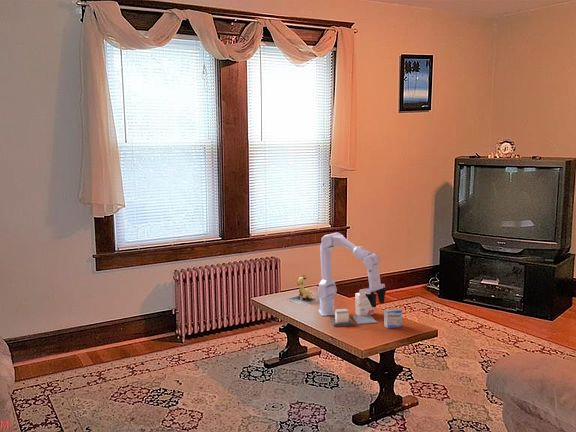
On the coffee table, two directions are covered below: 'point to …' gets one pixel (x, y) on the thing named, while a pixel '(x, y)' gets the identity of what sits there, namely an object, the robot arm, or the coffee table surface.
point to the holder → (341, 323)
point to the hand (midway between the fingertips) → (377, 305)
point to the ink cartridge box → (363, 304)
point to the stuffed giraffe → (303, 293)
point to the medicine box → (393, 318)
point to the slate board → (364, 319)
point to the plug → (341, 315)
